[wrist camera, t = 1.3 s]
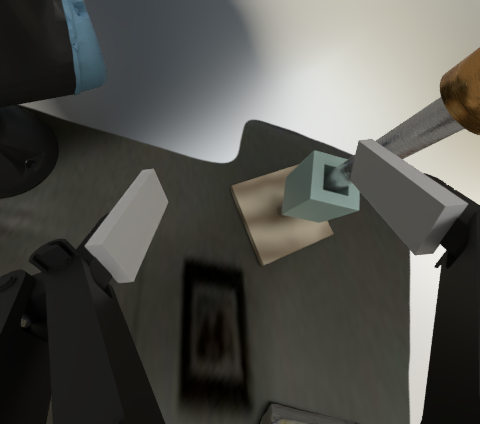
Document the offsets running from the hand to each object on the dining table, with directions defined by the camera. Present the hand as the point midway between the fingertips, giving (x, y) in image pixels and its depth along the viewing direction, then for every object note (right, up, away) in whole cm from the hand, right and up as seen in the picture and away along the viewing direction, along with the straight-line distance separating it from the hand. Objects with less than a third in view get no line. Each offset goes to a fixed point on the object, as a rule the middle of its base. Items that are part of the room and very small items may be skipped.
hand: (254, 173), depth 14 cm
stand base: (+7, -3, +26) cm, 27 cm away
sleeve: (+9, -1, +17) cm, 19 cm away
